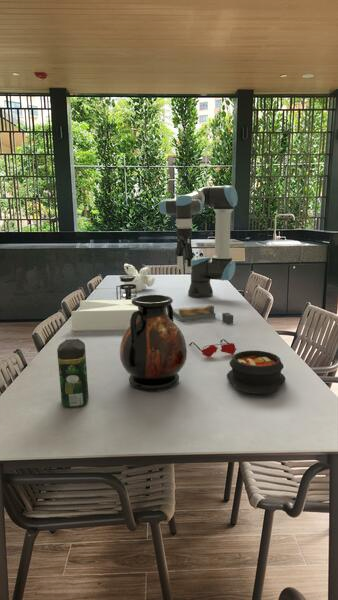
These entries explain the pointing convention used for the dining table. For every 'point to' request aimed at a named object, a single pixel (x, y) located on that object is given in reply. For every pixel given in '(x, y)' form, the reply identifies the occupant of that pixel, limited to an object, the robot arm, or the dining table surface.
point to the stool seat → (192, 316)
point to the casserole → (256, 372)
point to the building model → (103, 315)
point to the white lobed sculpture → (139, 278)
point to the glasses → (211, 349)
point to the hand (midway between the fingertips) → (184, 271)
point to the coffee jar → (73, 373)
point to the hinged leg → (196, 311)
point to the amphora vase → (153, 345)
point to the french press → (127, 289)
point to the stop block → (227, 318)
